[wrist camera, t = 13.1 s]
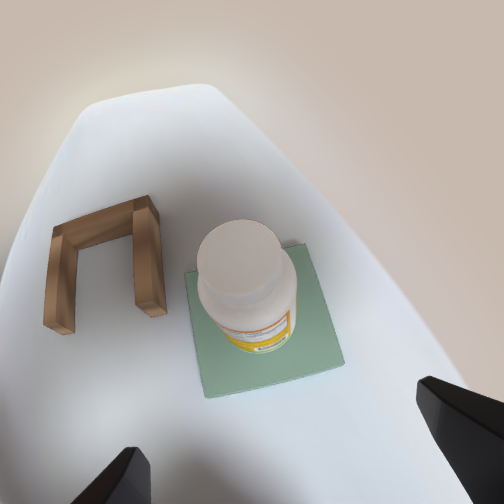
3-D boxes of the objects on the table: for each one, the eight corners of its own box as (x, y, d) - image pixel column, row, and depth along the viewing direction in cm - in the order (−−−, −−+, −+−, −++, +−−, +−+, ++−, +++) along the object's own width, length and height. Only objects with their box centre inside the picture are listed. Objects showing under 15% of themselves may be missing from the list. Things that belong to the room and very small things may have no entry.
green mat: (342, 365, 22) (344, 362, 21) (208, 398, 22) (204, 397, 20) (304, 250, 27) (305, 243, 26) (188, 279, 27) (184, 273, 26)
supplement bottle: (242, 275, 25) (215, 194, 16) (307, 300, 23) (314, 225, 15) (210, 336, 23) (160, 282, 14) (277, 366, 21) (267, 330, 13)
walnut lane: (167, 313, 25) (153, 300, 23) (62, 335, 25) (43, 324, 23) (158, 213, 31) (147, 194, 28) (68, 242, 30) (53, 227, 28)
